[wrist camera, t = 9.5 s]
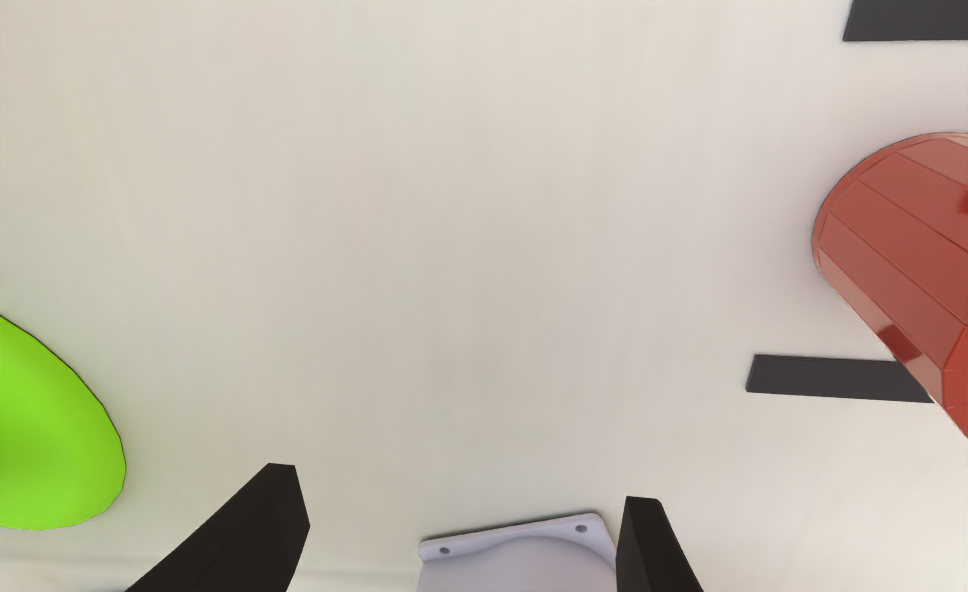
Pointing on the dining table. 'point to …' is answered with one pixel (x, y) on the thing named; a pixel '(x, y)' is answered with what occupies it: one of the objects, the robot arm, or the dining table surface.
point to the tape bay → (874, 17)
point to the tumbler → (907, 258)
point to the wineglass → (51, 440)
